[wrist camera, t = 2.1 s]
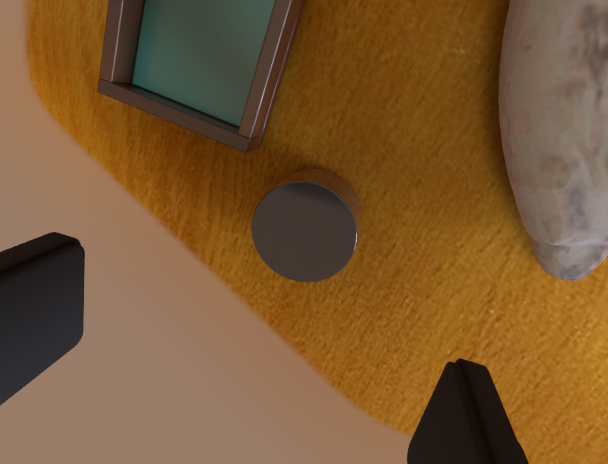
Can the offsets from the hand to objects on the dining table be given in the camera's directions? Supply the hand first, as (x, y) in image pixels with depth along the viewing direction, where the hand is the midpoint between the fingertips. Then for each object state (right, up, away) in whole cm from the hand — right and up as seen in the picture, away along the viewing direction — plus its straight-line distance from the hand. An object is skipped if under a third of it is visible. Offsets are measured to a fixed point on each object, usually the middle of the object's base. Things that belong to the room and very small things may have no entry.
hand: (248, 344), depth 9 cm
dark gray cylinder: (+2, +4, +9) cm, 10 cm away
